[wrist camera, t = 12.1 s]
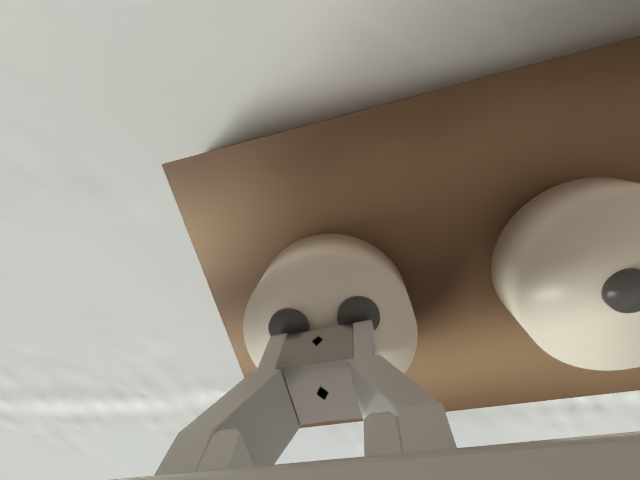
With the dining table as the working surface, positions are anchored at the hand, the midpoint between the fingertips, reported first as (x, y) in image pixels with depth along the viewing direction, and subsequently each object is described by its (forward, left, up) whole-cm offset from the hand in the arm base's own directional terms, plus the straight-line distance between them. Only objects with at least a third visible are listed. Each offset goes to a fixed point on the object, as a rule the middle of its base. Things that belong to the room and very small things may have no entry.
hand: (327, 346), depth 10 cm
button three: (0, 0, -2) cm, 2 cm away
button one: (0, +8, -2) cm, 8 cm away
